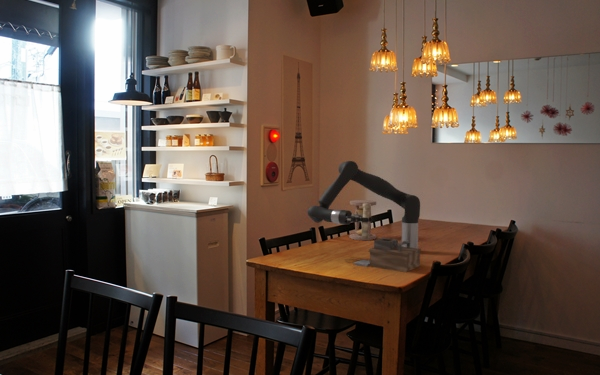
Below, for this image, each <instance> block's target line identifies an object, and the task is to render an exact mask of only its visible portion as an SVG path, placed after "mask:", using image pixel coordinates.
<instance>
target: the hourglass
mask: <svg viewBox="0 0 600 375" xmlns="http://www.w3.org/2000/svg"><path fill="white" fill-rule="evenodd" d="M363 203H368V204H371V207H370V212H369V217H372V207H373V206H377V201H376V200H371V199H370V200H368V199H354V200H350V201H349V204H350V205H351V206H355V211H354V214H357V215H363ZM360 207H361V208H360ZM359 227H360V222H354V228H355V232H354V233H351V234H349V239H350V238H351V239H350V240H353V239H354V241H374V240H377V235H376V234H374V233H371V230H372V222H369V227H368V239H362V228H361V229H360V228H359ZM373 239H374V240H373Z"/></svg>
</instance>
